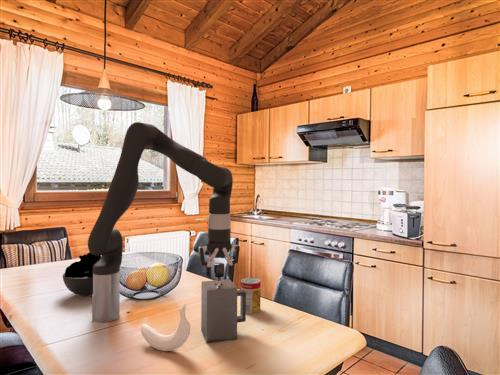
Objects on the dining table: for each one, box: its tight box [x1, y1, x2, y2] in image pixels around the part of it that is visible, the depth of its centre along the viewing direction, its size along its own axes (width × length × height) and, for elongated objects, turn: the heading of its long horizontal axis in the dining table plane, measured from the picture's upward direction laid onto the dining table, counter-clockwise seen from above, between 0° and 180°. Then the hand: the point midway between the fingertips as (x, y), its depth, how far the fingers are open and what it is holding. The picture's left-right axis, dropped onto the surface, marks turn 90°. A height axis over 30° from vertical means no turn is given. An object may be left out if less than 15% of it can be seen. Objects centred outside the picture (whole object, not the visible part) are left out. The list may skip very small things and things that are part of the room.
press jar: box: [200, 279, 247, 344], centre depth 118 cm, size 14×10×17 cm
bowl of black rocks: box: [62, 251, 102, 297], centre depth 156 cm, size 20×20×19 cm
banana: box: [140, 303, 191, 352], centre depth 107 cm, size 5×19×15 cm, turn 67°
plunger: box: [213, 262, 225, 286], centre depth 117 cm, size 3×3×18 cm
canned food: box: [240, 277, 262, 315], centre depth 140 cm, size 8×8×12 cm
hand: (219, 276), depth 117 cm, fingers open, 6 cm apart
